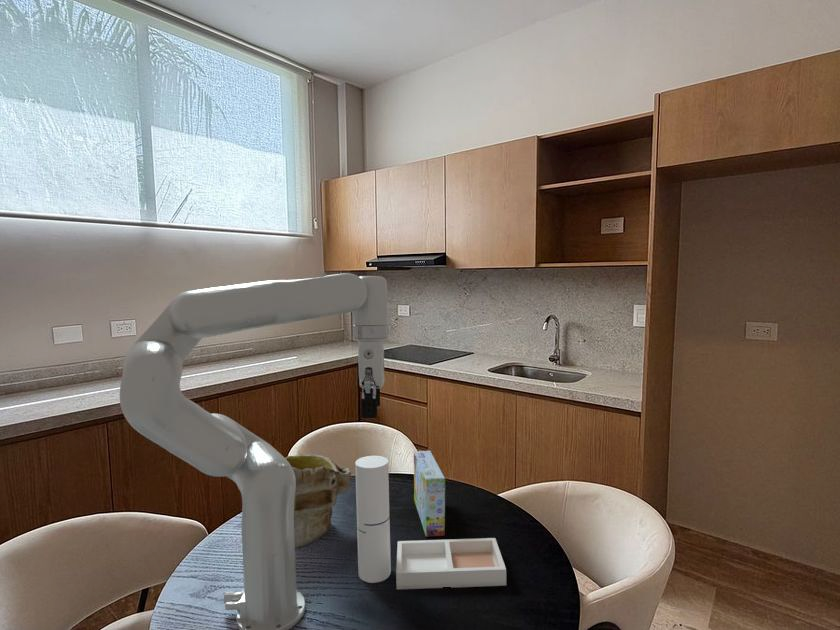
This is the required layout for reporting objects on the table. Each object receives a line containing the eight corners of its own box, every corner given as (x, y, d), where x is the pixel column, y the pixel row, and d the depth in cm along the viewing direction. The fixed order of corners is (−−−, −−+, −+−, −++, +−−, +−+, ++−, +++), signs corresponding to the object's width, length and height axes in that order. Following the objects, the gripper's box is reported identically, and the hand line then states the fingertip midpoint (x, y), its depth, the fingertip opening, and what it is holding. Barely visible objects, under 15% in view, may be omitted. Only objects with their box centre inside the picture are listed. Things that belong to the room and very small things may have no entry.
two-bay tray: (396, 589, 94) (396, 573, 93) (398, 555, 106) (397, 541, 105) (506, 585, 94) (506, 569, 94) (495, 552, 106) (495, 537, 106)
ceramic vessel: (330, 468, 137) (344, 418, 122) (349, 548, 121) (368, 501, 106) (251, 482, 127) (256, 429, 112) (261, 571, 111) (268, 523, 96)
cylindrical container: (385, 584, 95) (382, 468, 94) (353, 580, 97) (350, 466, 95) (394, 564, 102) (391, 456, 101) (364, 561, 104) (361, 454, 102)
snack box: (447, 536, 114) (446, 477, 113) (425, 538, 113) (424, 479, 112) (431, 498, 135) (430, 448, 134) (412, 500, 134) (411, 450, 133)
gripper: (385, 336, 89) (386, 422, 89) (389, 330, 106) (390, 401, 107) (347, 337, 88) (348, 423, 89) (357, 330, 106) (358, 402, 106)
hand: (371, 411), depth 98 cm, fingers open, 9 cm apart
